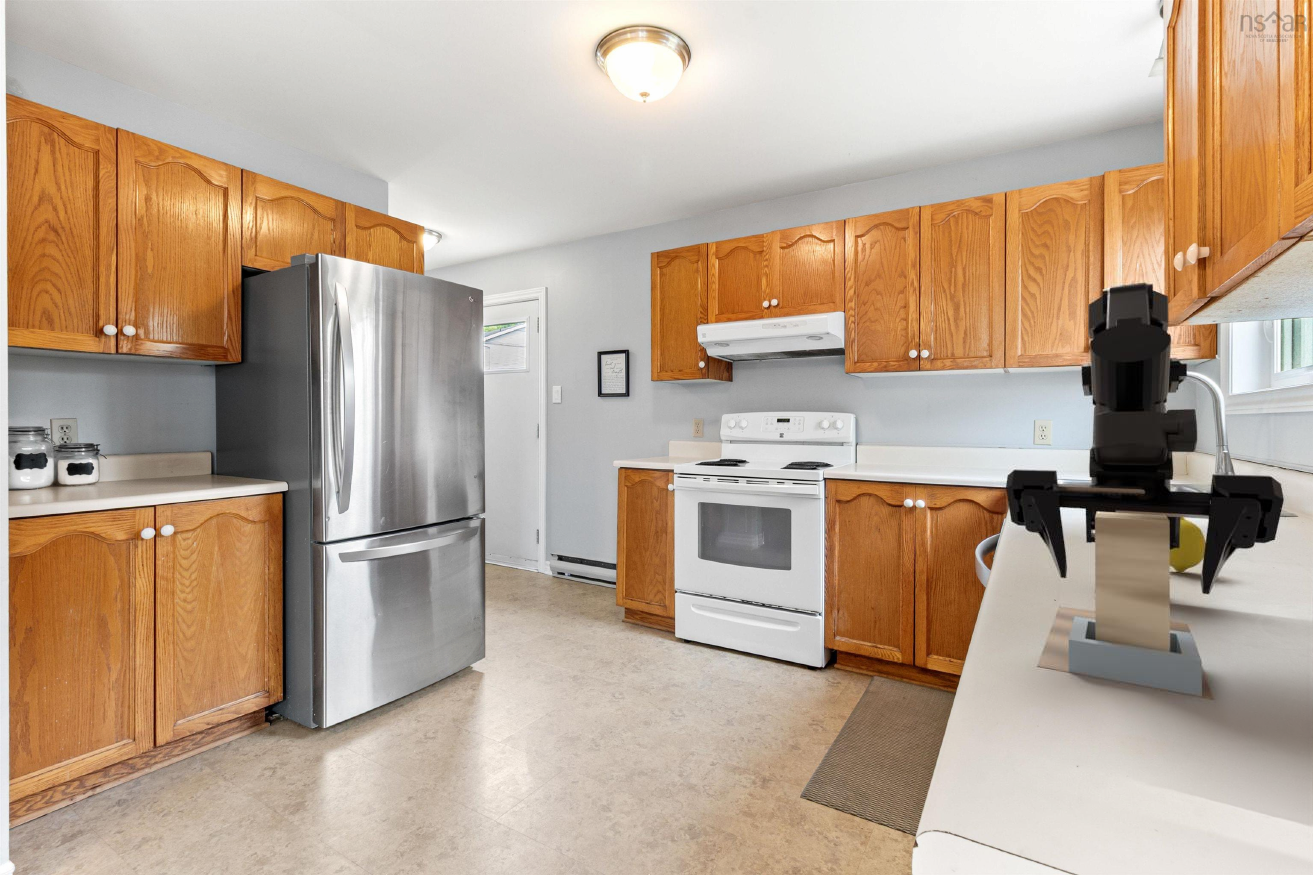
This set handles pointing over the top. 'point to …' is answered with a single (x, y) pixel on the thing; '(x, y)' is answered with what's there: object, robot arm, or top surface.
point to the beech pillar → (1132, 580)
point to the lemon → (1188, 547)
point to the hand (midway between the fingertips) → (1130, 582)
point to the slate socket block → (1136, 660)
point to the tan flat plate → (1058, 645)
